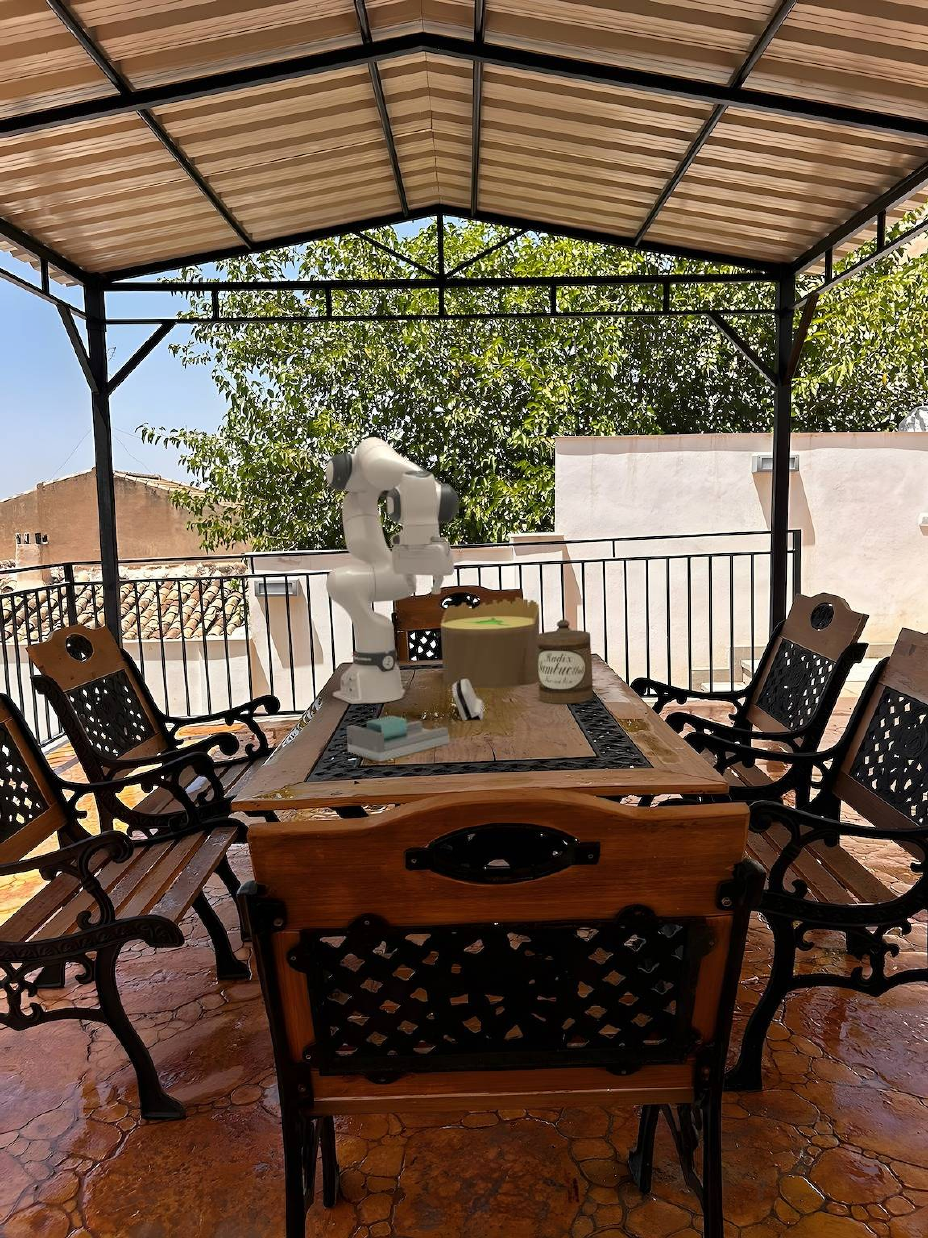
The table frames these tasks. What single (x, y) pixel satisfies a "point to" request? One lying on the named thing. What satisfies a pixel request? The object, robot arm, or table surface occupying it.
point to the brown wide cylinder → (491, 644)
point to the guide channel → (394, 741)
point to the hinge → (467, 700)
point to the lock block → (389, 727)
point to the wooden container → (565, 665)
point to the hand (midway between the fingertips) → (423, 593)
